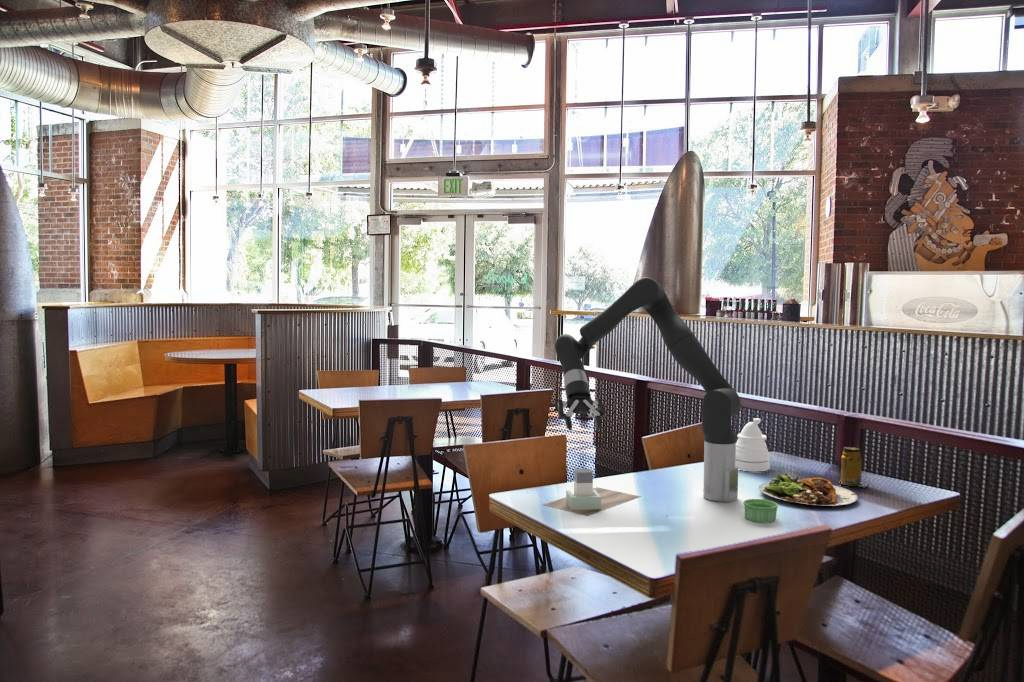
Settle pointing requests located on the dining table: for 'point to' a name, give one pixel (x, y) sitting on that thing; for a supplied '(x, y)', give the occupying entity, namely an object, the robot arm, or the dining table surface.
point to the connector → (583, 482)
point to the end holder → (583, 501)
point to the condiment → (851, 466)
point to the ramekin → (760, 510)
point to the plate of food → (807, 491)
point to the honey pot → (752, 448)
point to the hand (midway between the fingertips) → (584, 428)
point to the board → (607, 501)
